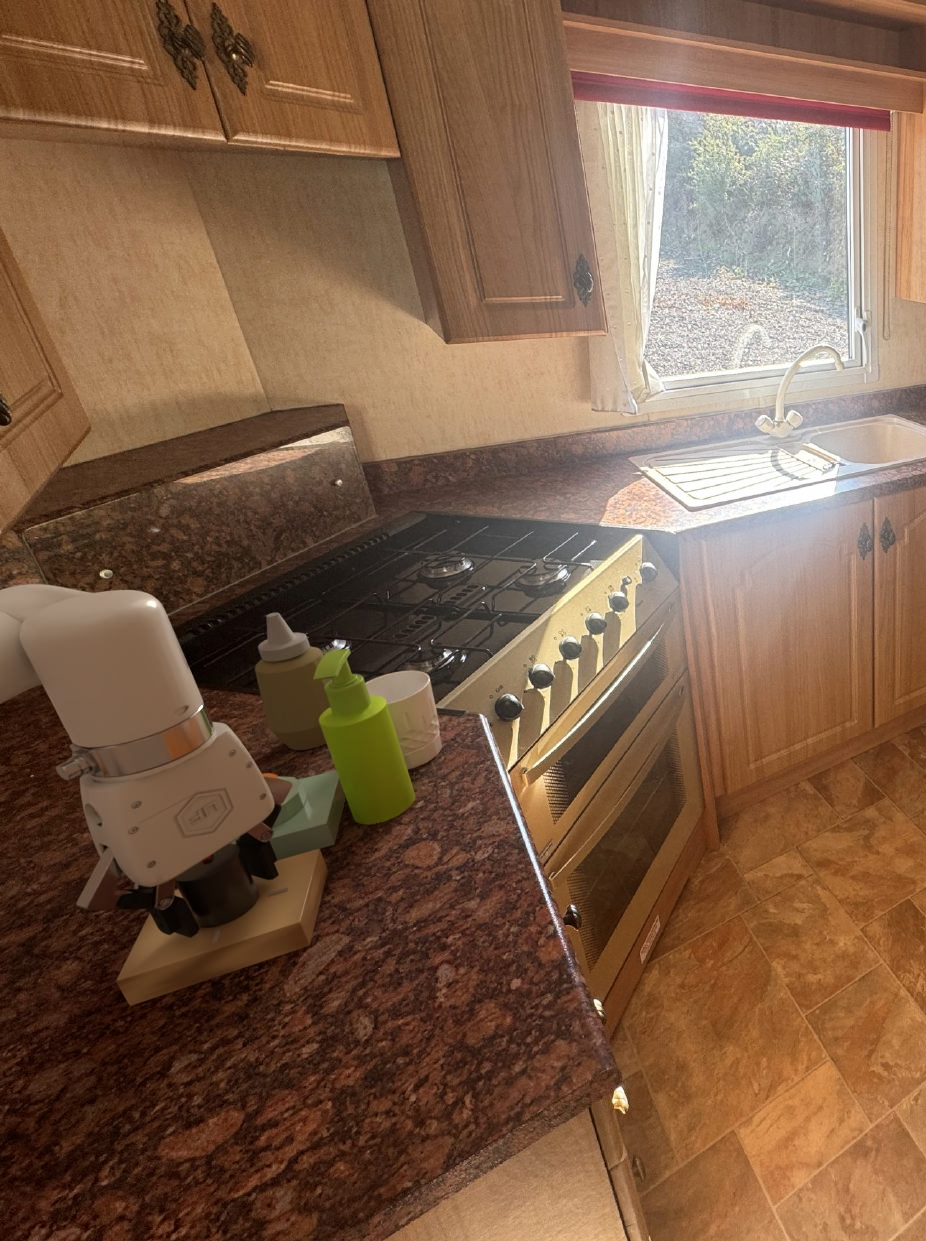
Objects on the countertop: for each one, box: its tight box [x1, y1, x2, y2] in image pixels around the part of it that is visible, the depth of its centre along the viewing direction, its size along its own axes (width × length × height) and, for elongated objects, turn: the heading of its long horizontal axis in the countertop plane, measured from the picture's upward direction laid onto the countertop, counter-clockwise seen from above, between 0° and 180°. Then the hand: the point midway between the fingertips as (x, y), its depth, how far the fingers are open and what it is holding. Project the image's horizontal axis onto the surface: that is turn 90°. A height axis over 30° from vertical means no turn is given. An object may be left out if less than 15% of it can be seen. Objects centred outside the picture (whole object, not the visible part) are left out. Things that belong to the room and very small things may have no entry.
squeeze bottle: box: [254, 612, 332, 751], centre depth 91 cm, size 8×8×18 cm
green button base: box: [229, 769, 346, 861], centre depth 77 cm, size 12×10×5 cm
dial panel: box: [115, 849, 329, 1007], centre depth 67 cm, size 12×10×3 cm
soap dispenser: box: [313, 647, 416, 825], centre depth 78 cm, size 6×7×20 cm
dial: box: [175, 844, 259, 928], centre depth 65 cm, size 4×4×6 cm
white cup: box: [365, 670, 443, 770], centre depth 89 cm, size 8×8×10 cm
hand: (225, 900), depth 66 cm, fingers open, 5 cm apart
